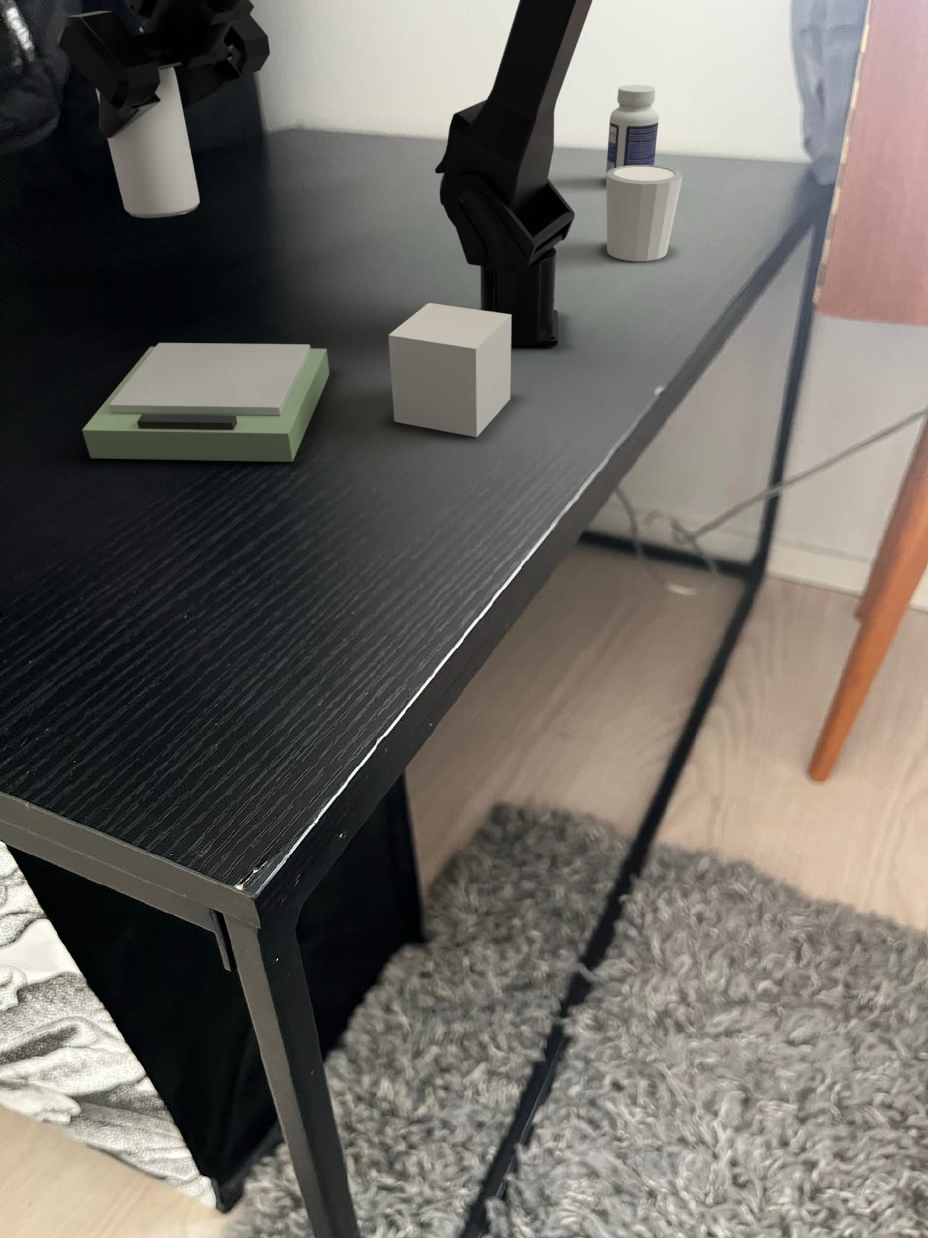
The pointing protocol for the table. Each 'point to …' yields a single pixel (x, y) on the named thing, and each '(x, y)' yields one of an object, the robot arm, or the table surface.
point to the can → (156, 158)
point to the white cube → (451, 368)
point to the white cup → (641, 210)
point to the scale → (211, 403)
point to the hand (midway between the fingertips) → (132, 124)
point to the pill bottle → (633, 128)
